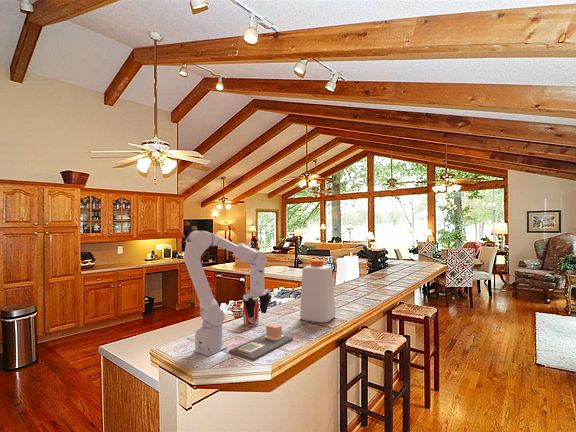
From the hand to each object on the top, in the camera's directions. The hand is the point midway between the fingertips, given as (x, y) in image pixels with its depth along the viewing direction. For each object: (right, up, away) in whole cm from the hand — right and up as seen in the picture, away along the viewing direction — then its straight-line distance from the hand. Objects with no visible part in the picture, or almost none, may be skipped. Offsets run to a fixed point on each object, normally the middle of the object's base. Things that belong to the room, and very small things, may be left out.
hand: (257, 315), depth 128 cm
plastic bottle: (+27, -10, +26) cm, 39 cm away
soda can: (-5, -10, +18) cm, 21 cm away
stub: (+7, -9, -2) cm, 11 cm away
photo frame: (-1, -9, -13) cm, 15 cm away
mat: (+3, -9, -8) cm, 13 cm away
